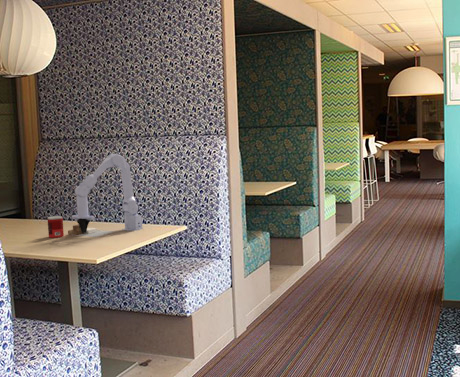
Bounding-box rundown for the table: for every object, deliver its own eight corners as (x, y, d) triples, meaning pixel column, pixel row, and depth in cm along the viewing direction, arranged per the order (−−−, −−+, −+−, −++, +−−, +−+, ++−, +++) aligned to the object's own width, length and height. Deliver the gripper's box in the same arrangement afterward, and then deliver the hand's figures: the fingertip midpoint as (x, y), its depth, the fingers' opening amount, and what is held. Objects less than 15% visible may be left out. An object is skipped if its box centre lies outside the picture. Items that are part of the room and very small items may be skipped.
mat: (115, 232, 345) (115, 231, 345) (95, 237, 330) (95, 236, 330) (88, 230, 354) (87, 229, 354) (67, 235, 340) (66, 234, 340)
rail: (79, 232, 344) (78, 228, 344) (70, 235, 338) (70, 230, 338) (77, 232, 345) (76, 228, 345) (68, 234, 339) (67, 230, 339)
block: (83, 233, 341) (83, 224, 340) (78, 235, 337) (78, 226, 337) (78, 233, 343) (77, 224, 342) (73, 234, 339) (72, 225, 339)
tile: (96, 228, 345) (87, 227, 349) (88, 230, 339) (78, 229, 342) (97, 231, 345) (87, 231, 349) (88, 234, 339) (78, 233, 343)
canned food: (66, 236, 338) (65, 216, 337) (58, 239, 330) (56, 218, 329) (54, 235, 340) (53, 215, 339) (45, 238, 333) (44, 218, 332)
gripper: (67, 208, 336) (69, 233, 338) (87, 209, 329) (89, 234, 331) (76, 206, 342) (78, 230, 344) (96, 207, 335) (98, 232, 337)
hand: (84, 232), depth 338 cm, fingers closed
